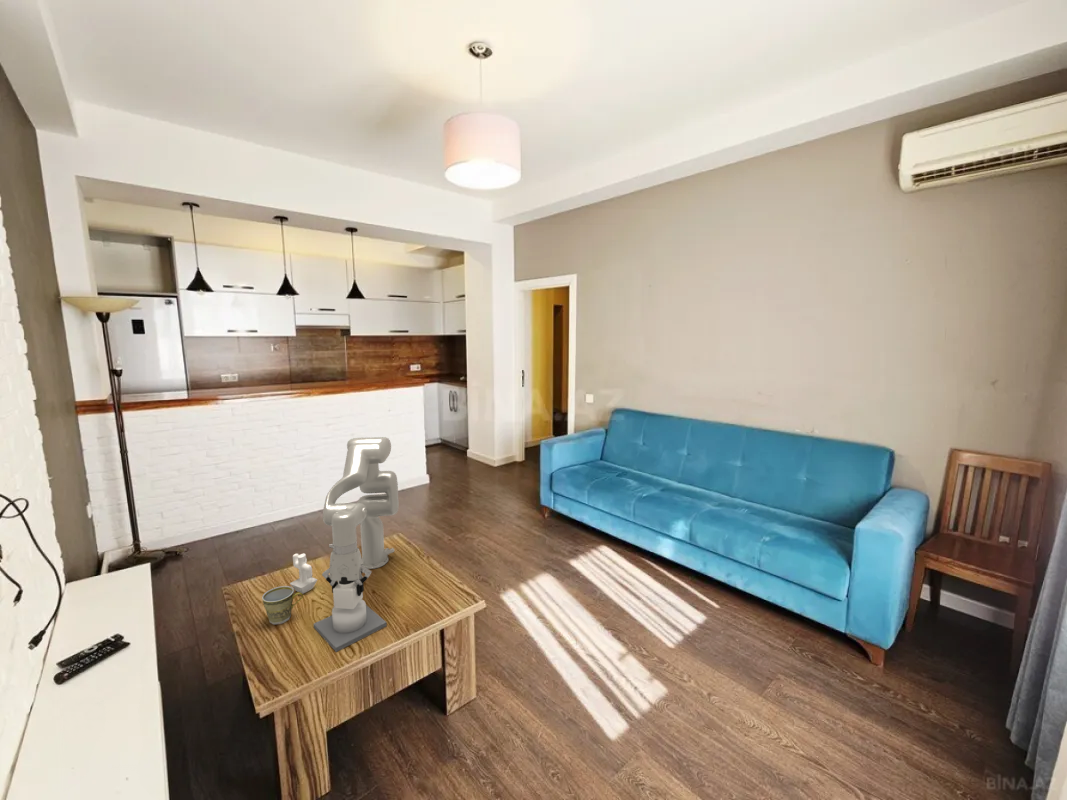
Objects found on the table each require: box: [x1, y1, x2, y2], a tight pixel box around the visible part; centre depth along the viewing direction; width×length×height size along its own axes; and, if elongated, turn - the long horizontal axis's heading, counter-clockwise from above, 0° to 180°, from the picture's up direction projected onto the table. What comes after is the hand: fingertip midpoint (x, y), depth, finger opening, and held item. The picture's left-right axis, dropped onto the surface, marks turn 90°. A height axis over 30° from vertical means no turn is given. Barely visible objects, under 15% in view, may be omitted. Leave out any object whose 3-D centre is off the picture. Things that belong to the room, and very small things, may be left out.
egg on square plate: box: [313, 598, 387, 653], centre depth 159 cm, size 18×18×8 cm
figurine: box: [289, 552, 318, 595], centre depth 182 cm, size 7×9×15 cm
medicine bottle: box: [332, 577, 364, 609], centre depth 158 cm, size 7×7×12 cm
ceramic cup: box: [261, 585, 304, 626], centre depth 164 cm, size 13×10×10 cm
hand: (348, 593), depth 158 cm, fingers closed on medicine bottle, 7 cm apart
